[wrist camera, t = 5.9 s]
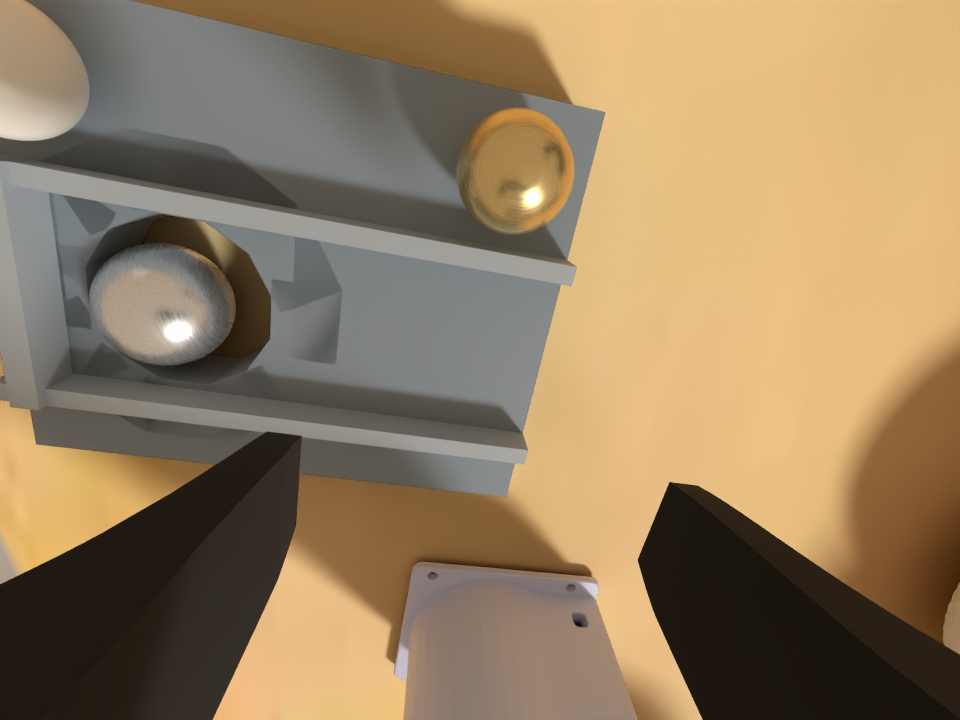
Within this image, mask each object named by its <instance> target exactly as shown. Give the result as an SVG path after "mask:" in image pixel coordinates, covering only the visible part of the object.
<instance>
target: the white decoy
mask: <svg viewBox="0 0 960 720" xmlns="http://www.w3.org/2000/svg"><path fill="white" fill-rule="evenodd" d="M89 95H90V89H89V80H88V75H87V71H86V68H85V66H84V63H83V61H82V59H81V57H80V55H79V53H78V51H77V50H76V48H75V47H74V45H73V44H72V42H71V41H70V39H69V38H68V37H67V36H66V34H65V33H64V32H63V31H62V30H61V29H60V28H59V27H58V26H57V25H56V24H55V23H54V22H53V21H52V20H51V19H50V18H49V17H48V16H46V15H45V14H44V13H43V12H41V11H40V10H39V9H37V8H36V7H34V6H33V5H32V4H30V3H29V2H27V1H25V0H0V137H2V138H6V139H12V140H20V141H38V140H45V139H50V138H53V137H57V136H59V135H61V134H63V133H65V132H67V131H69V130H70V129H72V128H73V127H74V126H75V125H76V124H77V123H78V122H79V121H80V120H81V118H82V117H83V115H84V114H85V111H86V109H87V106H88V102H89Z"/></svg>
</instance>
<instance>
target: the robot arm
mask: <svg viewBox="0 0 960 720" xmlns="http://www.w3.org/2000/svg"><path fill="white" fill-rule="evenodd" d="M301 442H302V436H300V435H292V434H284V433H276V432H268V431H267V432H265V433H264V434H262V435H260V436H259V437H257V438H256V439H254V440H253V441H251V442H250V443H248V444H247V445H245V446H244V447H242V448H240V449H239V450H237V451H236V452H234V453H233V454H231V455H230V456H228V457H227V458H225V459H224V460H222V461H221V462H219V463H218V464H216V465H215V466H213V467H212V468H210V469H209V470H207V471H206V472H204V473H202V474H201V475H199V476H198V477H196V478H194V479H193V480H191V481H190V482H188V483H187V484H185V485H183V486H182V487H180V488H179V489H177V490H176V491H174V492H172V493H171V494H169V495H167V496H166V497H164V498H162V499H160V500H159V501H157V502H155V503H153V504H152V505H150V506H148V507H147V508H145V509H143V510H141V511H140V512H138V513H136V514H134V515H133V516H131V517H129V518H127V519H126V520H124V521H122V522H121V523H119V524H117V525H115V526H114V527H112V528H110V529H108V530H107V531H105V532H103V533H101V534H99V535H98V536H96V537H94V538H92V539H90V540H88V541H86V542H85V543H83V544H81V545H79V546H77V547H75V548H73V549H71V550H69V551H67V552H65V553H63V554H61V555H59V556H57V557H55V558H53V559H51V560H49V561H47V562H45V563H43V564H41V565H39V566H37V567H35V568H33V569H31V570H29V571H27V572H25V573H23V574H21V575H19V576H17V577H15V578H13V579H10V580H8V581H7V582H4V583H2V584H0V720H213V718H214V715H215V713H216V711H217V709H218V707H219V705H220V703H221V700H222V698H223V696H224V694H225V692H226V690H227V688H228V686H229V683H230V681H231V679H232V677H233V675H234V673H235V671H236V668H237V666H238V664H239V662H240V660H241V658H242V656H243V653H244V651H245V649H246V647H247V645H248V643H249V641H250V639H251V636H252V634H253V632H254V630H255V628H256V626H257V624H258V621H259V619H260V617H261V615H262V613H263V611H264V608H265V606H266V604H267V602H268V600H269V598H270V595H271V593H272V591H273V589H274V587H275V584H276V582H277V580H278V578H279V575H280V572H281V569H282V566H283V563H284V560H285V557H286V554H287V551H288V548H289V545H290V542H291V539H292V536H293V533H294V530H295V527H296V516H297V501H298V486H299V472H300V457H301ZM638 563H639V566H640V570H641V573H642V576H643V580H644V583H645V587H646V590H647V593H648V596H649V599H650V602H651V605H652V608H653V611H654V613H655V616H656V618H657V620H658V623H659V625H660V627H661V629H662V632H663V634H664V636H665V638H666V640H667V643H668V645H669V647H670V649H671V652H672V654H673V656H674V658H675V660H676V663H677V665H678V667H679V669H680V671H681V673H682V676H683V678H684V680H685V682H686V684H687V686H688V689H689V691H690V693H691V695H692V697H693V699H694V702H695V704H696V706H697V708H698V710H699V713H700V715H701V717H702V719H703V720H960V654H958V653H957V652H955V651H953V650H951V649H950V648H948V647H946V646H945V645H943V644H941V643H939V642H938V641H936V640H934V639H933V638H931V637H929V636H927V635H926V634H924V633H922V632H921V631H919V630H917V629H915V628H914V627H912V626H911V625H909V624H907V623H906V622H904V621H902V620H901V619H899V618H897V617H896V616H894V615H893V614H891V613H889V612H888V611H886V610H885V609H883V608H882V607H880V606H878V605H877V604H875V603H874V602H872V601H871V600H869V599H868V598H866V597H864V596H863V595H861V594H860V593H858V592H857V591H855V590H854V589H852V588H851V587H849V586H847V585H846V584H844V583H843V582H841V581H840V580H838V579H837V578H835V577H834V576H832V575H831V574H829V573H828V572H826V571H825V570H823V569H822V568H820V567H819V566H817V565H816V564H814V563H813V562H812V561H810V560H809V559H807V558H806V557H804V556H803V555H801V554H800V553H798V552H797V551H796V550H794V549H793V548H791V547H790V546H788V545H787V544H785V543H784V542H783V541H781V540H780V539H778V538H777V537H775V536H774V535H772V534H771V533H770V532H768V531H767V530H765V529H764V528H762V527H761V526H759V525H758V524H757V523H755V522H754V521H752V520H751V519H749V518H748V517H746V516H745V515H743V514H742V513H741V512H739V511H738V510H736V509H735V508H733V507H732V506H730V505H729V504H727V503H726V502H724V501H722V500H721V499H719V498H718V497H716V496H714V495H713V494H711V493H710V492H708V491H706V490H704V489H702V488H701V487H699V486H696V485H688V484H680V483H672V482H669V485H668V487H667V490H666V492H665V495H664V497H663V499H662V502H661V504H660V507H659V509H658V512H657V514H656V517H655V519H654V521H653V524H652V526H651V529H650V531H649V534H648V536H647V539H646V541H645V543H644V546H643V548H642V551H641V553H640V556H639V558H638ZM430 572H435V573H434V574H431V573H430ZM569 584H571V585H569ZM567 585H568V586H567ZM598 590H599V586H598V583H597V581H596V579H595V578H593V577H588V576H577V575H565V574H554V573H543V572H532V571H521V570H510V569H499V568H488V567H477V566H466V565H455V564H444V563H433V562H419V563H416V564H415V565H414V566H413V568H412V574H411V579H410V585H409V590H408V596H407V601H406V606H405V612H404V617H403V623H402V628H401V634H400V639H399V645H398V650H397V656H396V661H395V667H394V675H395V676H396V677H397V678H399V679H407V680H406V694H405V707H404V720H638V719H637V716H636V713H635V710H634V707H633V704H632V701H631V698H630V695H629V693H628V690H627V687H626V684H625V681H624V679H623V676H622V673H621V670H620V667H619V664H618V662H617V659H616V656H615V653H614V650H613V648H612V645H611V642H610V639H609V636H608V633H607V631H606V628H605V625H604V622H603V619H602V617H601V614H600V611H599V608H598V605H597V602H596V600H595V598H596V595H597V592H598Z"/></svg>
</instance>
